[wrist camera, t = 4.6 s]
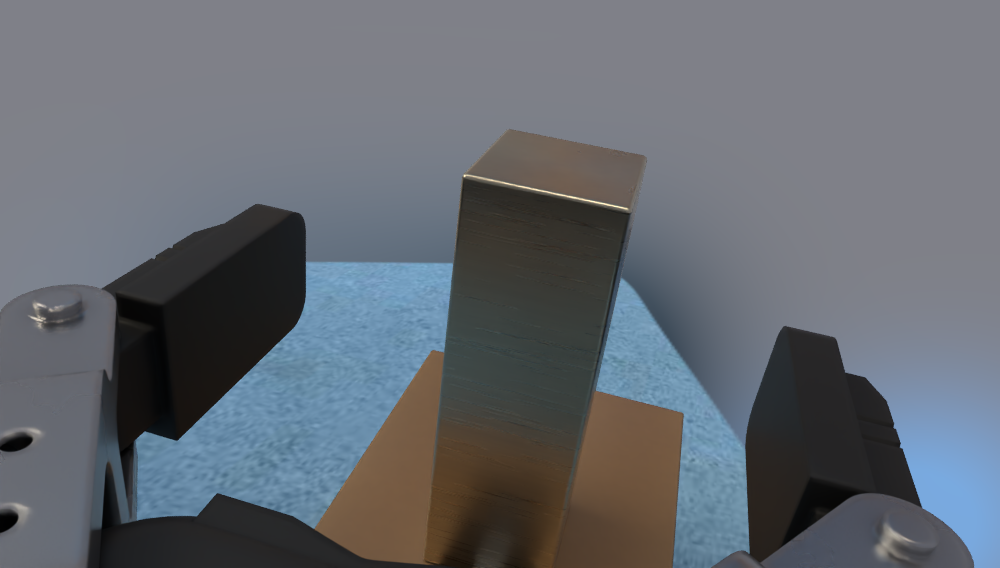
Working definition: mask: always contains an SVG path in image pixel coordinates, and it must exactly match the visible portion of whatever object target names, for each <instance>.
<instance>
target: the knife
mask: <svg viewBox="0 0 1000 568" xmlns="http://www.w3.org/2000/svg"><path fill="white" fill-rule="evenodd" d="M646 163H647V158H646V157H645V156H643V155H638V154H633V153H628V152H623V151H618V150H613V149H608V148H603V147H598V146H593V145H587V144H582V143H577V142H572V141H567V140H562V139H557V138H552V137H546V136H541V135H537V134H531V133H526V132H521V131H516V130H511V129H509V130H506V131H505V132H504V133H503V135H502V136H500V138H499V139H498V140H497V141H496V142H495V143H494V144H493V145H492V146H491V147H490V148H489V149H488V150H487V151H486V152H485V153H484V154H483V155H482V156H481V157H480V158H479V159H478V160H477V161H476V162H475V163H474V164H473V165H472V166H471V167H470V168H469V169H468V170H467V171H466V172H465V173H464V175H463V177H462V184H461V194H460V204H459V213H458V223H457V233H456V242H455V252H454V262H453V271H452V281H451V291H450V301H449V310H448V320H447V330H446V340H445V349H444V359H443V369H442V379H441V388H440V398H439V408H438V418H437V428H436V437H435V447H434V457H433V467H432V476H431V486H430V496H429V506H428V515H427V525H426V535H425V545H424V554H423V559H424V560H425V561H426V562H430V563H433V564H436V565H439V566H449V567H459V568H554V565H555V561H556V558H557V554H558V550H559V546H560V542H561V538H562V534H563V530H564V526H565V522H566V518H567V514H568V510H569V506H570V502H571V498H572V493H573V489H574V484H575V480H576V475H577V471H578V466H579V462H580V458H581V453H582V449H583V444H584V440H585V435H586V431H587V426H588V422H589V417H590V413H591V408H592V404H593V399H594V395H595V391H596V386H597V382H598V377H599V373H600V368H601V364H602V359H603V355H604V350H605V346H606V341H607V337H608V332H609V328H610V324H611V319H612V315H613V310H614V306H615V301H616V297H617V292H618V288H619V283H620V279H621V274H622V270H623V265H624V261H625V256H626V252H627V248H628V243H629V239H630V234H631V230H632V225H633V221H634V216H635V212H636V207H637V203H638V198H639V194H640V189H641V185H642V181H643V176H644V171H645V167H646Z"/></svg>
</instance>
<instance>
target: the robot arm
mask: <svg viewBox="0 0 1000 568" xmlns="http://www.w3.org/2000/svg"><path fill="white" fill-rule="evenodd" d="M305 297H306V229H305V222H304V219H303V217H302V215H301V214H299V213H296V212H292V211H288V210H283V209H279V208H275V207H270V206H266V205H262V204H255V205H253V206H252V207H250V208H248V209H247V210H245V211H244V212H242V213H241V214H239V215H237V216H236V217H234V218H233V219H231V220H229V221H228V222H226V223H225V224H221V225H218V226H214V227H211V228H207V229H204V230H201V231H198V232H194V233H192V234H191V235H189V236H187V237H186V238H184V239H183V240H181V241H179V242H178V243H176V244H174V245H173V248H168V249H166V250H164V251H163V252H161V253H160V254H158V255H156V258H155V259H152V258H151V259H150V260H148V261H146V262H145V263H143V264H141V265H140V266H138V267H136V268H135V269H133V270H131V271H130V272H128V273H127V274H125V275H123V276H122V277H120V278H118V279H117V280H115V281H114V282H112V283H110V284H109V285H107V286H105V287H104V288H102V289H99V288H97V287H93V286H86V285H58V286H51V287H46V288H41V289H38V290H34V291H31V292H28V293H25V294H23V295H21V296H18V297H17V298H15V299H13V300H12V301H10V302H9V303H8V304H6V305H5V306H4V308H3V309H2V310H1V312H0V568H459V567H449V566H437V565H426V564H414V563H402V562H391V561H379V560H370V559H366V558H362V557H360V556H358V555H356V554H354V553H353V552H351V551H349V550H348V549H346V548H344V547H343V546H341V545H339V544H338V543H336V542H334V541H333V540H331V539H329V538H328V537H326V536H324V535H323V534H321V533H319V532H318V531H316V530H315V529H313V528H311V527H310V526H308V525H306V524H305V523H303V522H301V521H300V520H298V519H296V518H295V517H293V516H290V515H287V514H283V513H280V512H277V511H274V510H270V509H267V508H264V507H261V506H257V505H254V504H251V503H248V502H244V501H241V500H238V499H235V498H231V497H228V496H225V495H222V494H218V493H217V494H216V495H215V496H214V497H213V499H212V500H211V501H210V502H209V503H208V504H207V505H206V507H205V508H204V509H203V510H202V511H201V512H200V513H199V515H198V516H197V517H196V516H167V517H158V518H149V519H143V520H138V521H137V467H138V455H137V448H136V441H135V440H136V439H137V438H138V437H139V436H140V435H141V434H142V433H143V432H144V431H146V432H149V433H152V434H156V435H159V436H162V437H166V438H169V439H173V440H176V441H178V440H179V439H180V438H181V437H182V436H183V435H184V434H185V433H186V432H187V431H188V430H189V429H190V428H191V427H192V426H193V425H194V424H195V423H196V422H197V421H198V420H199V419H200V418H201V417H202V416H203V415H204V414H205V413H206V412H207V411H208V410H209V409H210V408H212V407H213V406H214V405H215V404H216V403H217V402H218V401H219V400H220V399H221V398H222V397H223V396H224V395H225V394H226V393H227V392H228V391H229V390H230V389H231V388H232V387H233V386H234V385H235V384H236V383H237V382H238V381H239V380H240V379H241V378H242V377H243V376H244V375H246V374H247V373H248V372H249V371H250V370H251V369H252V368H253V367H254V366H255V365H256V364H257V363H258V362H259V361H260V360H261V359H262V358H263V357H264V356H265V355H266V354H267V353H268V352H269V351H270V350H271V349H272V348H273V347H274V346H275V345H276V344H277V343H278V342H280V341H281V340H282V339H283V338H284V337H285V336H286V335H287V334H288V333H289V332H290V331H291V330H292V329H293V328H294V327H295V325H296V324H297V322H298V320H299V318H300V316H301V314H302V311H303V308H304V303H305ZM893 427H894V422H893V419H892V416H891V413H890V410H889V407H888V404H887V401H886V400H885V399H884V398H883V397H882V395H881V394H880V393H879V392H878V391H877V390H876V389H875V388H874V387H873V386H872V384H871V383H870V382H869V381H868V380H867V379H866V378H865V377H861V376H857V375H853V374H848V373H845V370H844V367H843V363H842V359H841V355H840V352H839V348H838V344H837V341H836V339H835V338H834V337H830V336H826V335H822V334H817V333H813V332H809V331H804V330H800V329H796V328H791V327H787V326H784V327H783V328H782V330H781V331H780V333H779V335H778V337H777V340H776V342H775V345H774V348H773V351H772V353H771V356H770V359H769V362H768V365H767V368H766V370H765V373H764V376H763V379H762V382H761V385H760V388H759V390H758V393H757V396H756V399H755V402H754V405H753V407H752V411H751V414H750V418H749V422H748V427H747V434H746V444H745V449H746V474H747V498H748V522H749V546H750V554H749V553H747V552H746V551H737V552H735V553H733V554H731V555H729V556H728V557H726V558H724V559H723V560H722V561H720V562H719V563H717V564H716V565H714V566H713V567H711V568H974V562H973V559H972V556H971V554H970V552H969V550H968V548H967V547H966V545H965V544H964V542H963V541H962V540H961V539H960V537H959V536H958V535H957V534H956V533H955V532H954V531H953V530H952V529H951V528H950V527H949V526H947V525H946V524H945V523H944V522H943V521H941V520H940V519H938V518H937V517H936V516H934V515H933V514H931V513H930V512H928V511H926V510H924V509H923V508H922V506H921V503H920V500H919V497H918V494H917V491H916V488H915V485H914V482H913V479H912V476H911V473H910V470H909V467H908V464H907V461H906V458H905V455H904V452H903V449H902V448H900V444H901V443H900V440H899V437H898V434H897V431H896V429H894V428H893Z"/></svg>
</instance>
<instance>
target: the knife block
mask: <svg viewBox="0 0 1000 568" xmlns="http://www.w3.org/2000/svg"><path fill="white" fill-rule="evenodd" d="M443 359H444V353H443V352H439V351H435V350H432V351H431V352H430V354H429V355H428V357H427V359H426V360H425V362H424V363H423V365H422V366H421V368H420V369H419V371H418V372H417V374H416V375H415V377H414V378H413V380H412V381H411V383H410V384H409V386H408V387H407V389H406V390H405V392H404V394H403V395H402V397H401V398H400V400H399V401H398V403H397V404H396V406H395V407H394V409H393V410H392V412H391V413H390V415H389V416H388V418H387V419H386V421H385V422H384V424H383V425H382V427H381V429H380V430H379V432H378V433H377V435H376V436H375V438H374V439H373V441H372V442H371V444H370V445H369V447H368V448H367V450H366V451H365V453H364V454H363V456H362V457H361V459H360V460H359V462H358V464H357V465H356V467H355V468H354V470H353V471H352V473H351V474H350V476H349V477H348V479H347V480H346V482H345V483H344V485H343V486H342V488H341V489H340V491H339V492H338V494H337V495H336V497H335V499H334V500H333V502H332V503H331V505H330V506H329V508H328V509H327V511H326V512H325V514H324V515H323V517H322V518H321V520H320V521H319V523H318V524H317V526H316V527H315V530H316V531H318V532H319V533H321V534H323V535H324V536H326V537H328V538H329V539H331V540H333V541H334V542H336V543H338V544H339V545H341V546H343V547H344V548H346V549H348V550H349V551H351V552H353V553H354V554H356V555H358V556H360V557H362V558H366V559H370V560H379V561H391V562H402V563H414V564H426V565H436V564H433V563H430V562H426V561H425V560H424V559H423V554H424V545H425V535H426V525H427V515H428V506H429V496H430V486H431V476H432V467H433V457H434V447H435V437H436V428H437V418H438V408H439V398H440V388H441V379H442V369H443ZM683 417H684V415H683V413H681V412H677V411H673V410H669V409H665V408H661V407H658V406H654V405H650V404H646V403H642V402H638V401H634V400H630V399H626V398H622V397H618V396H614V395H610V394H606V393H602V392H598V391H595V395H594V399H593V404H592V408H591V413H590V417H589V422H588V426H587V431H586V435H585V440H584V444H583V449H582V453H581V458H580V462H579V466H578V471H577V475H576V480H575V484H574V489H573V493H572V498H571V502H570V506H569V510H568V514H567V518H566V522H565V526H564V530H563V534H562V538H561V542H560V546H559V550H558V554H557V558H556V561H555V565H554V568H673V554H674V541H675V527H676V513H677V499H678V486H679V472H680V458H681V444H682V431H683ZM437 566H439V565H437Z"/></svg>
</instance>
